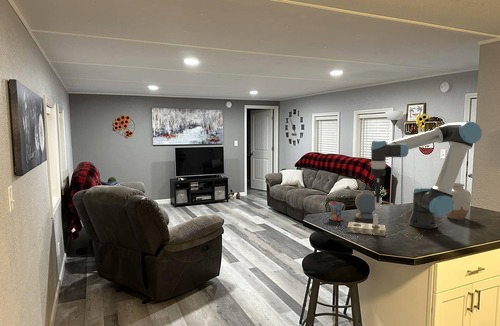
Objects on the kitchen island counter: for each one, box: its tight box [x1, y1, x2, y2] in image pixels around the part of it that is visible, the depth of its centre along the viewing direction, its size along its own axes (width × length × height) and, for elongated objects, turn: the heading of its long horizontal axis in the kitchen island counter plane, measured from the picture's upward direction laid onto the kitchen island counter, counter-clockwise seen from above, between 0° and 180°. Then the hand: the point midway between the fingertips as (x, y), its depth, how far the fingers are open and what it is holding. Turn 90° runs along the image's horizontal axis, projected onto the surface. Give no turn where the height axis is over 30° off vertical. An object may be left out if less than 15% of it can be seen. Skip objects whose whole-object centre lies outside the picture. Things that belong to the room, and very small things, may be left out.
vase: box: [445, 182, 472, 221], centre depth 222 cm, size 16×16×23 cm
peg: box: [372, 213, 380, 228], centre depth 191 cm, size 3×3×10 cm
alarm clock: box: [354, 189, 377, 220], centre depth 224 cm, size 14×10×18 cm
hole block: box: [347, 221, 386, 237], centre depth 193 cm, size 20×11×3 cm, turn 70°
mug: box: [328, 201, 346, 222], centre depth 217 cm, size 12×9×11 cm
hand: (377, 205), depth 190 cm, fingers open, 13 cm apart
